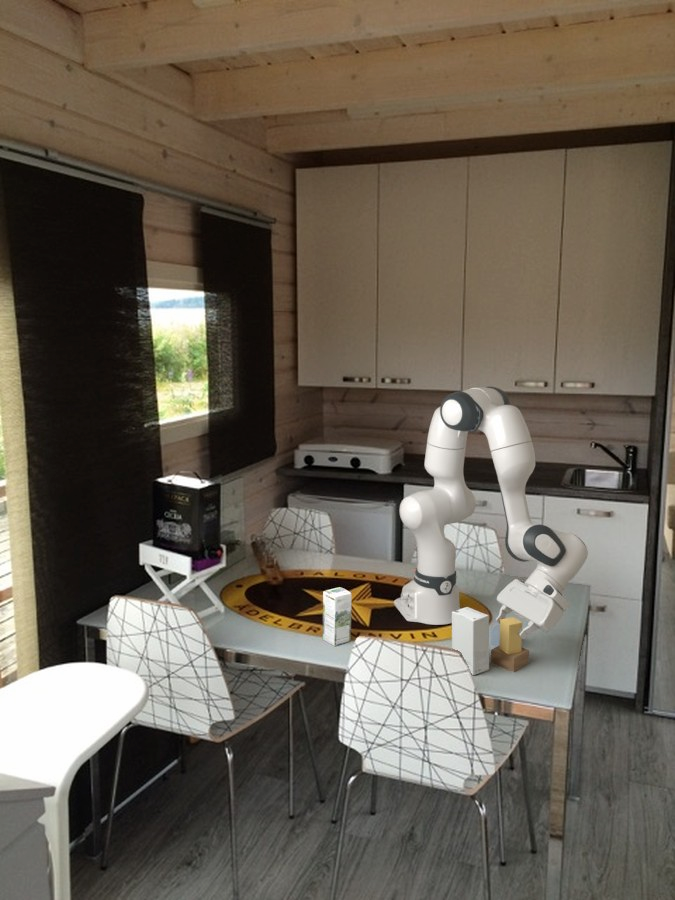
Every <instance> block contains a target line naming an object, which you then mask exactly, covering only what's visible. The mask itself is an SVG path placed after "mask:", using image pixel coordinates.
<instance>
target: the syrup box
mask: <svg viewBox="0 0 675 900" xmlns="http://www.w3.org/2000/svg"><path fill="white" fill-rule="evenodd" d="M322 592H323V593H322V637H321V638H322V640H323V641H324V642H325V643H328V644H330V645H331V646H334V647H337V646H340V645H343V644H346V643H350V642H351V638H352V637H351V636H352V635H351V632H352V631H351V630H352V598H353V595H352V593H351V591H349V590H347V589H345V588H343V587H340V586H339V587H335V588H331V589H325V590H324V591H322Z"/></svg>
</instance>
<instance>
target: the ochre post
mask: <svg viewBox="0 0 675 900" xmlns="http://www.w3.org/2000/svg"><path fill="white" fill-rule="evenodd" d="M520 629H523V621H521V620H519V619H517V618H516V617H514V616H512V617H505V619H500V641H499V648H500V649H501V650H502V651H504V652H505V653H507V654H513V653H518V652H521V647H522V640H523V639H522V638H521V637H519V636H518V635H517V633H518V632H519V630H520Z"/></svg>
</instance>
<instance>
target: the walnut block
mask: <svg viewBox="0 0 675 900" xmlns="http://www.w3.org/2000/svg"><path fill="white" fill-rule="evenodd" d="M529 658H530V649H527V648H525V647H522V646H521V652H518V653H513V654H507V653H505V652H504V651H502V650H501V649H500V648H499V646H497V647H493V648H492V649H490V661H489V664H491V665H494V666H496V665H497V666H496V667H499V668H502V669H504V670H507V671H509V672H513V673H515V672H516V671H518V670H519V669H521V668H523V667H524V666H527V665H528V664H529V661H530V659H529Z"/></svg>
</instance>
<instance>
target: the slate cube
mask: <svg viewBox="0 0 675 900" xmlns="http://www.w3.org/2000/svg"><path fill="white" fill-rule="evenodd" d="M499 641H500V624H499V623H498V624H497V625H495V626H492V627H491V628H490V637H489V646H491V645H492V646H491V647H494V646H495V647H494V648H496V647H497V646H499Z"/></svg>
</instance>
